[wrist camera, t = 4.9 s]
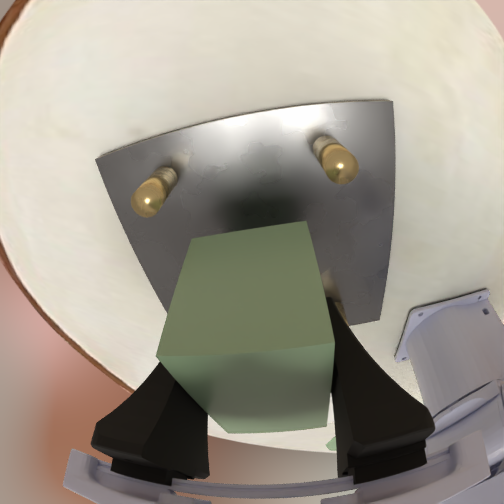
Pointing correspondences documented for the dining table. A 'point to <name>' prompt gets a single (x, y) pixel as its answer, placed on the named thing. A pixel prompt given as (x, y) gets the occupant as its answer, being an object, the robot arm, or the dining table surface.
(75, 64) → the dining table surface
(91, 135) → the dining table surface
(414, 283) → the dining table surface
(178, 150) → the chassis
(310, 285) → the board block
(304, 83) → the dining table surface
